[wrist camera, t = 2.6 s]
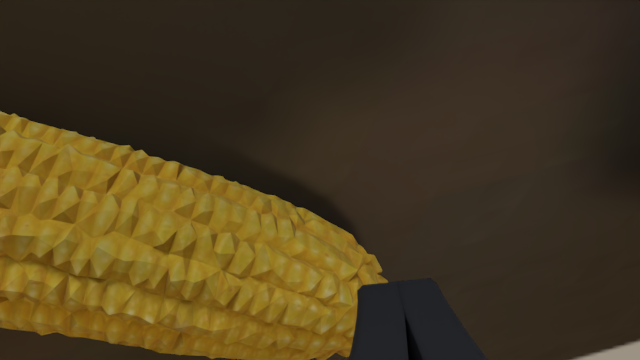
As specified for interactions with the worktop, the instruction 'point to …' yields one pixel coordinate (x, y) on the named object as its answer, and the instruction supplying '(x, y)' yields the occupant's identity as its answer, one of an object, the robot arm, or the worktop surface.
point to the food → (166, 254)
